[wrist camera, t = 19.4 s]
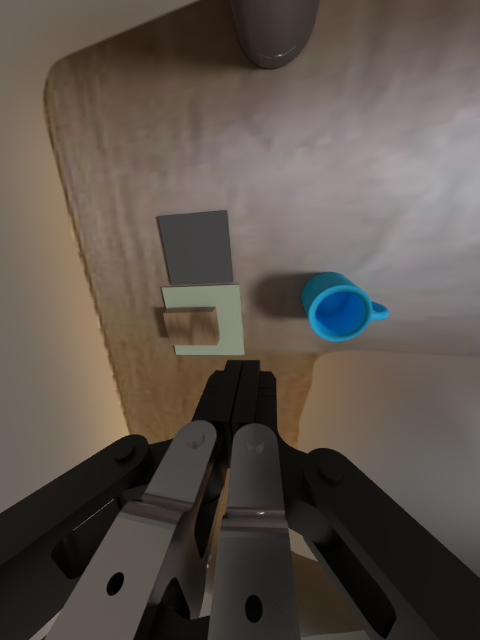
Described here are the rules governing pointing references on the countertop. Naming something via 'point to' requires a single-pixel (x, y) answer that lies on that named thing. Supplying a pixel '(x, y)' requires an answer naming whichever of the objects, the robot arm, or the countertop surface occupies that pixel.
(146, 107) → the countertop surface
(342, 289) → the mug
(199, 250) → the coaster
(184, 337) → the slab
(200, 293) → the board
